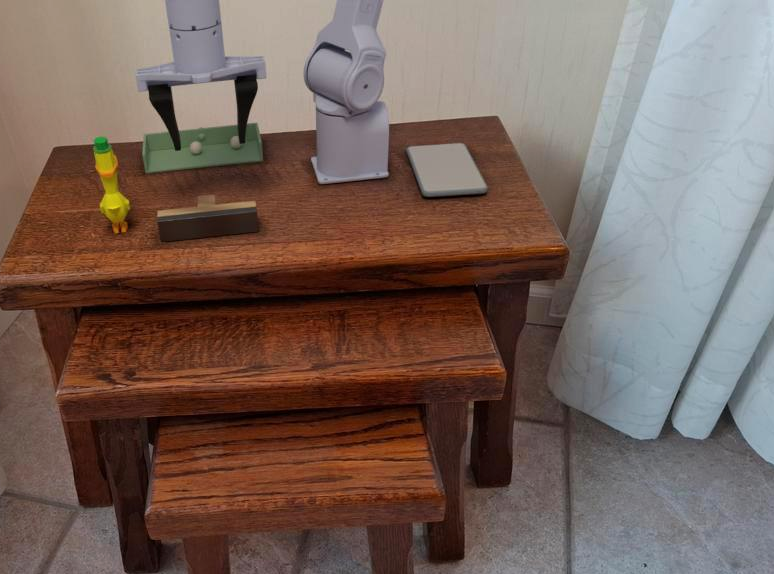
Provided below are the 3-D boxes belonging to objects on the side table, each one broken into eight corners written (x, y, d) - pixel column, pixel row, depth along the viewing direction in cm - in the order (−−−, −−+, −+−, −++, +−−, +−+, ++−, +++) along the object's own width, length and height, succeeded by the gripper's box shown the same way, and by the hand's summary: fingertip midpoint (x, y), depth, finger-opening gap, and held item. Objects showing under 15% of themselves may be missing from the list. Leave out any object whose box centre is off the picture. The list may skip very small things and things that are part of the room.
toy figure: (106, 217, 99) (86, 126, 91) (134, 214, 99) (116, 123, 91) (106, 243, 94) (84, 149, 86) (135, 239, 94) (116, 145, 86)
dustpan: (263, 161, 109) (261, 142, 107) (145, 173, 108) (142, 154, 107) (257, 135, 116) (256, 116, 114) (147, 146, 116) (144, 128, 114)
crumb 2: (245, 148, 112) (242, 137, 113) (242, 143, 111) (239, 132, 111) (233, 152, 113) (230, 141, 113) (230, 147, 111) (227, 136, 111)
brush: (258, 232, 94) (254, 208, 98) (257, 210, 92) (252, 187, 96) (160, 242, 93) (161, 218, 98) (157, 220, 91) (157, 197, 96)
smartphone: (464, 142, 108) (489, 188, 96) (464, 148, 108) (488, 195, 97) (405, 145, 108) (423, 192, 96) (405, 152, 108) (422, 200, 97)
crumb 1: (200, 149, 110) (205, 152, 112) (196, 138, 110) (202, 141, 112) (189, 155, 111) (195, 157, 112) (185, 143, 111) (192, 146, 112)
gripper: (126, 41, 80) (149, 164, 88) (265, 27, 80) (273, 150, 89) (129, 22, 85) (150, 140, 94) (258, 8, 86) (267, 127, 94)
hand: (210, 144), depth 92 cm, fingers open, 7 cm apart
